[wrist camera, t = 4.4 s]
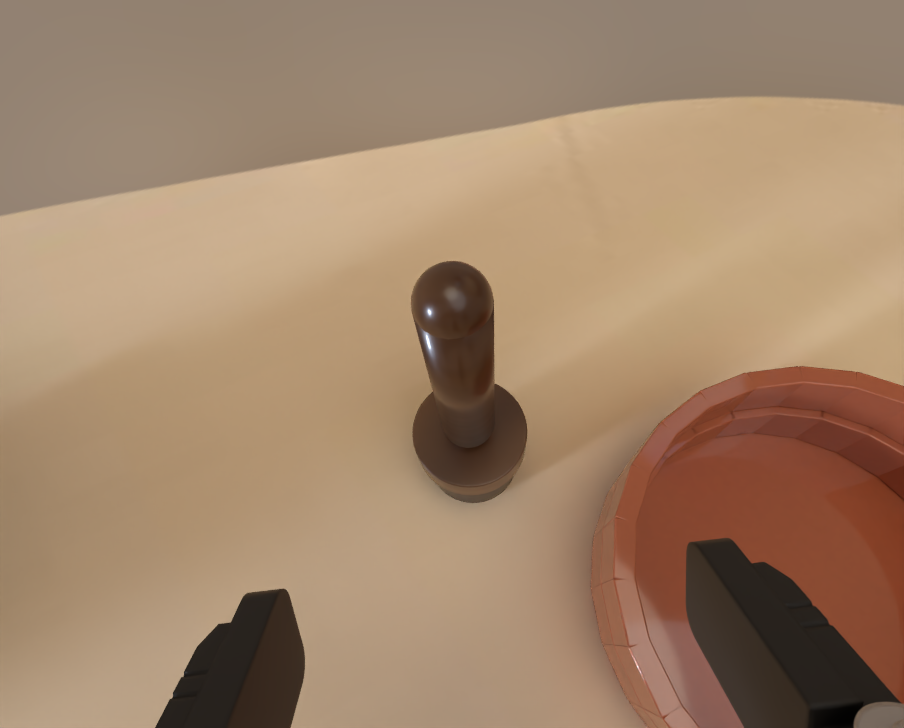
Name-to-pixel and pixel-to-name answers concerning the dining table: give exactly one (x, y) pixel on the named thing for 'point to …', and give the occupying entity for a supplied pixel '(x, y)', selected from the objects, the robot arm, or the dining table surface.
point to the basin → (755, 527)
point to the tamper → (463, 388)
